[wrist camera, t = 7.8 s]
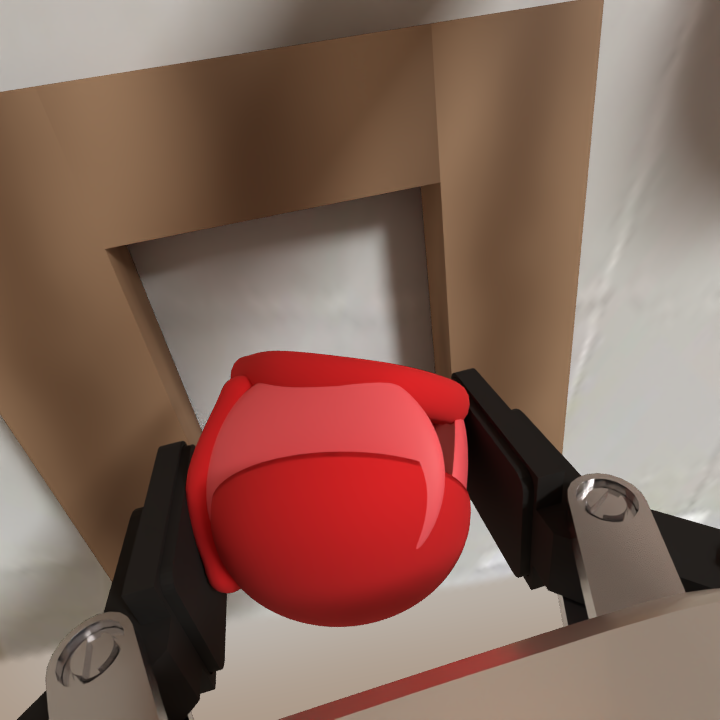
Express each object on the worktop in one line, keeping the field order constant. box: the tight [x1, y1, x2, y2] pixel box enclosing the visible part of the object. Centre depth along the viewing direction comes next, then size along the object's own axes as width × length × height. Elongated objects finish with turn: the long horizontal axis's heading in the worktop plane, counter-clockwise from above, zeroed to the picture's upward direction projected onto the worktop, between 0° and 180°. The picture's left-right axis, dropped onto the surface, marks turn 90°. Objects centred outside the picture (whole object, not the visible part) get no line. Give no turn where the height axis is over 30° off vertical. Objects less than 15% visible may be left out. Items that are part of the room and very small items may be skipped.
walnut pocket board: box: [0, 0, 604, 581], centre depth 17 cm, size 20×18×2 cm
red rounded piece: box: [186, 351, 471, 627], centre depth 11 cm, size 8×6×6 cm
